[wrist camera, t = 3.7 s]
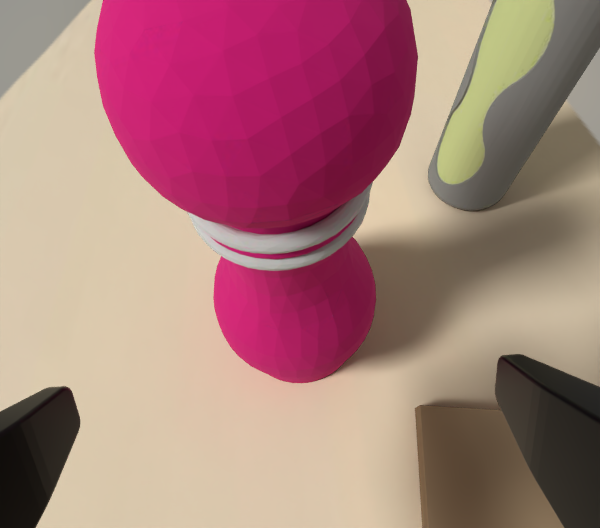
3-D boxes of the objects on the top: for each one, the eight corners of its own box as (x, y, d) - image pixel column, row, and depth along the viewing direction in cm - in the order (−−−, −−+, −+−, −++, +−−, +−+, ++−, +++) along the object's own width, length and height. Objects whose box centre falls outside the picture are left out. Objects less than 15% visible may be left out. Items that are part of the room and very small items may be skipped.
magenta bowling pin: (267, 419, 20) (-166, 64, 2) (215, 299, 23) (-145, -260, 5) (391, 353, 21) (759, -228, 3) (326, 247, 24) (340, -356, 6)
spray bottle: (455, 226, 25) (818, -415, 7) (411, 171, 27) (595, -435, 9) (520, 195, 25) (999, -453, 7) (472, 143, 27) (756, -463, 9)
